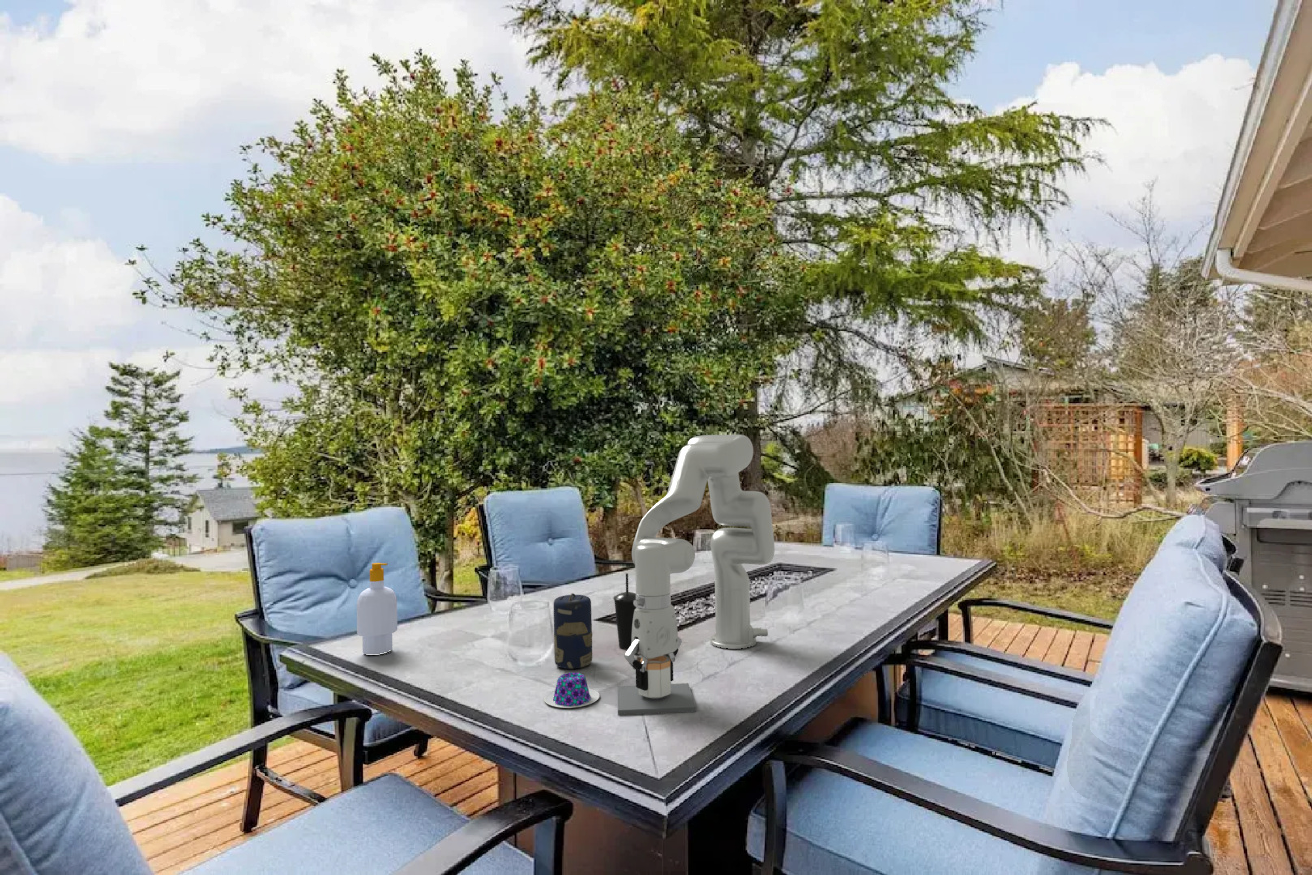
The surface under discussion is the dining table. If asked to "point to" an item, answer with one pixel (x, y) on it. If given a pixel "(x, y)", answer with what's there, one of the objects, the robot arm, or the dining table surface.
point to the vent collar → (658, 677)
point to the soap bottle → (377, 613)
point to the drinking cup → (625, 616)
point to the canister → (572, 631)
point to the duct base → (655, 701)
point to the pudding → (571, 691)
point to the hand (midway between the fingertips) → (654, 683)
